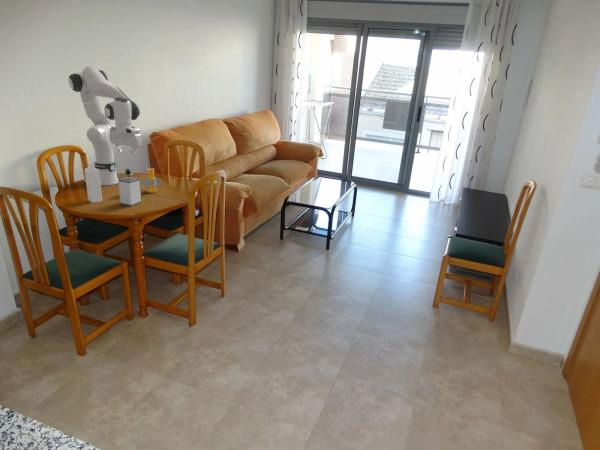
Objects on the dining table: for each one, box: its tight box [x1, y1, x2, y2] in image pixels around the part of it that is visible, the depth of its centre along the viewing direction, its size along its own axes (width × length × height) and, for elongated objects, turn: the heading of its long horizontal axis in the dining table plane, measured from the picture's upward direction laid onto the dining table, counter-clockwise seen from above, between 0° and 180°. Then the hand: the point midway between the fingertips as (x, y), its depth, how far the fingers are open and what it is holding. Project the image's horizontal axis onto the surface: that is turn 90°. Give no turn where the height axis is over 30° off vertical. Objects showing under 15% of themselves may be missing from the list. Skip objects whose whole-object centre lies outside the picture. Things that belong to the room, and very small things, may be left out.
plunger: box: [124, 168, 133, 180], centre depth 241 cm, size 5×5×19 cm
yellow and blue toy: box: [140, 167, 162, 194], centre depth 266 cm, size 12×10×15 cm
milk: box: [84, 163, 103, 204], centre depth 241 cm, size 6×6×22 cm
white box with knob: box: [118, 176, 142, 207], centre depth 244 cm, size 8×12×15 cm, turn 159°
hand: (126, 153), depth 234 cm, fingers open, 8 cm apart
